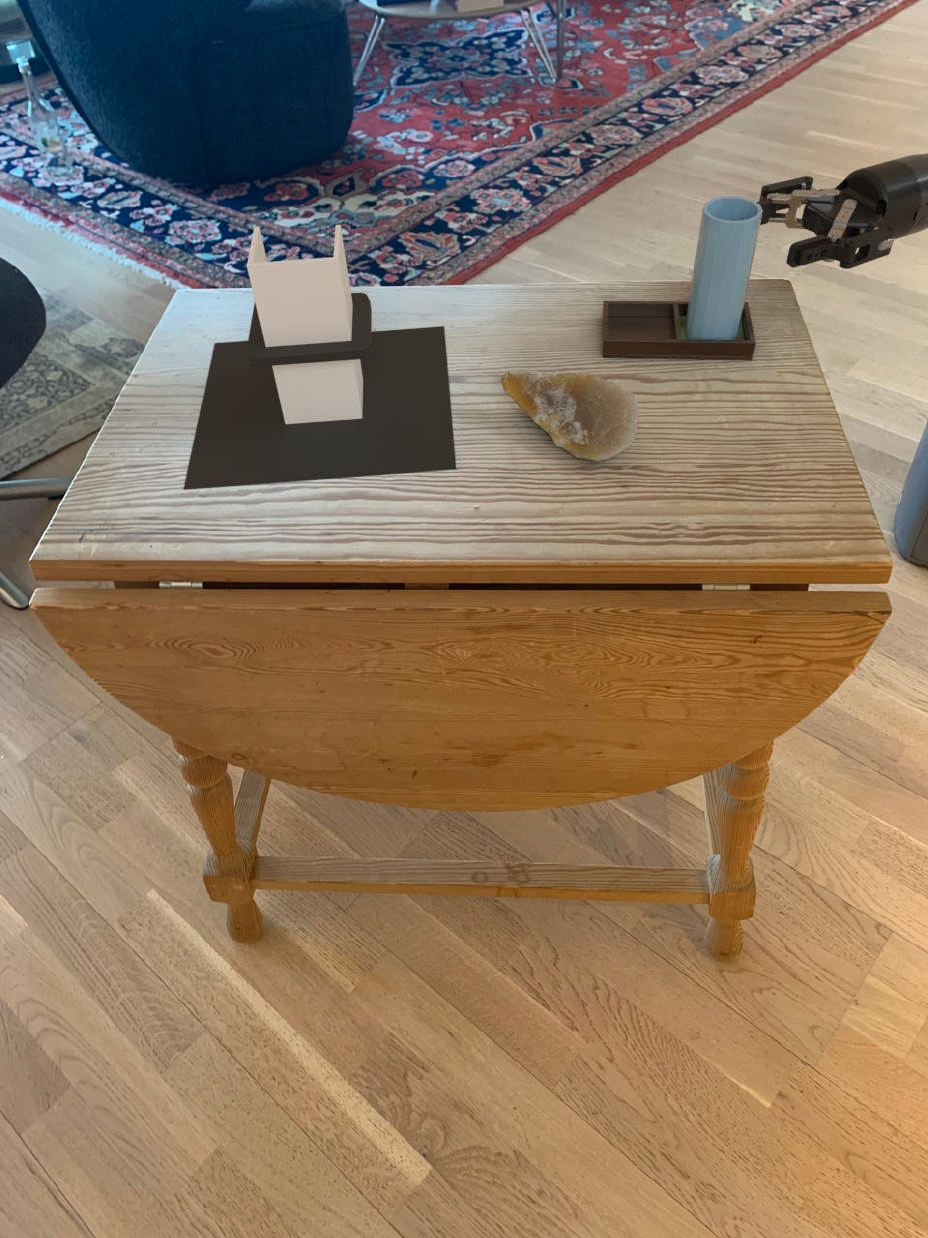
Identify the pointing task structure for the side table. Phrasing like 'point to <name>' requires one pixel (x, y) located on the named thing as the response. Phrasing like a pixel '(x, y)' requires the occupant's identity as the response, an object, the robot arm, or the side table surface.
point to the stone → (577, 411)
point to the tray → (666, 333)
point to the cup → (722, 267)
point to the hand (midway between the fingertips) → (763, 237)
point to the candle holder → (320, 386)
